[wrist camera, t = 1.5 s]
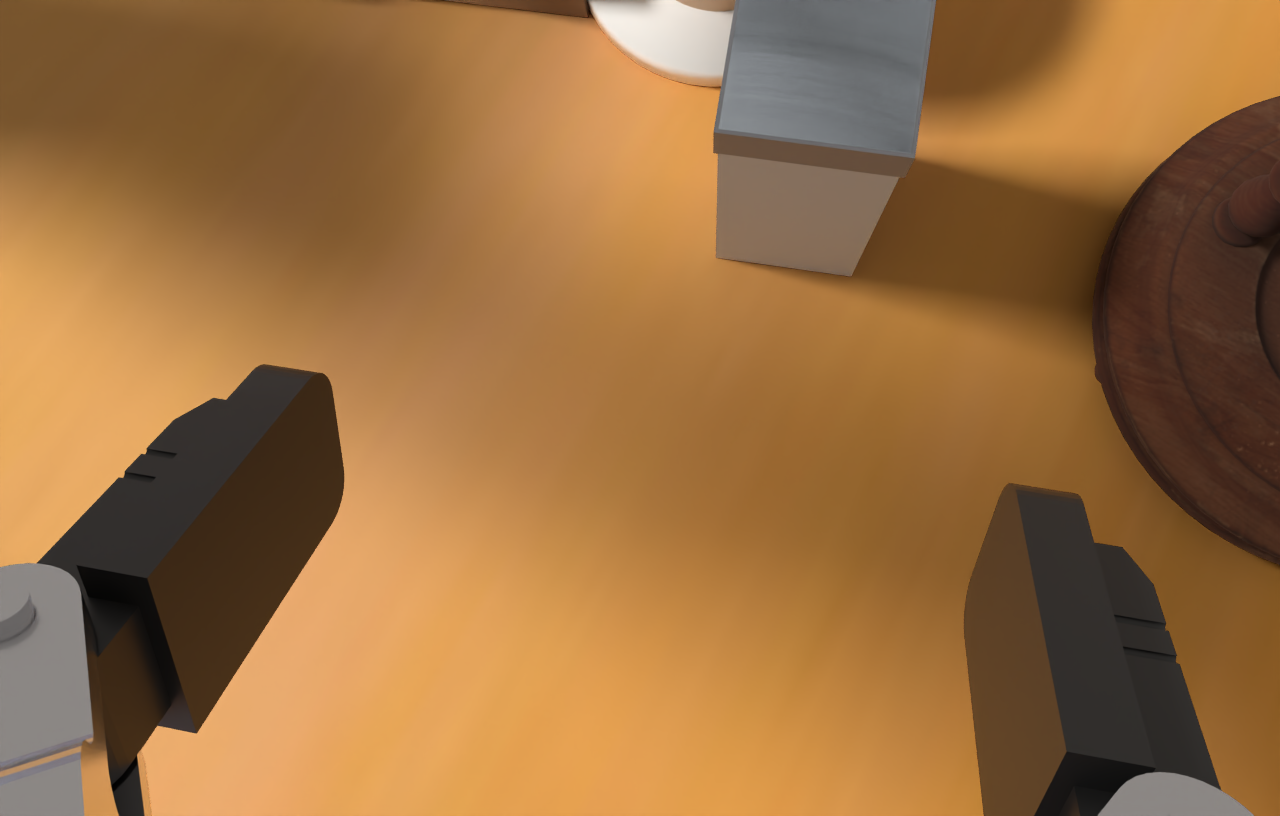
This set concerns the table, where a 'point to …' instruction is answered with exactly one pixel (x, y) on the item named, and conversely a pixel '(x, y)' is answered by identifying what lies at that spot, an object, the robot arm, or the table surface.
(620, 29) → the white round piece
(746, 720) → the table surface
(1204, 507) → the scroll
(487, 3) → the channel block
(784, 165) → the grey-topped square post
